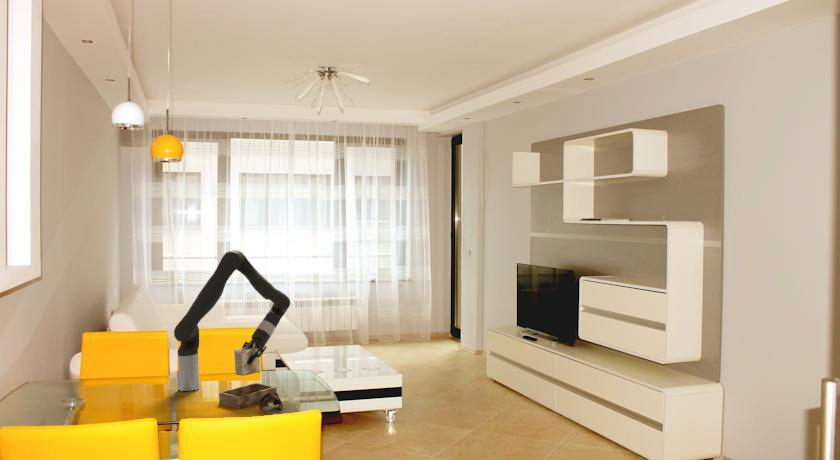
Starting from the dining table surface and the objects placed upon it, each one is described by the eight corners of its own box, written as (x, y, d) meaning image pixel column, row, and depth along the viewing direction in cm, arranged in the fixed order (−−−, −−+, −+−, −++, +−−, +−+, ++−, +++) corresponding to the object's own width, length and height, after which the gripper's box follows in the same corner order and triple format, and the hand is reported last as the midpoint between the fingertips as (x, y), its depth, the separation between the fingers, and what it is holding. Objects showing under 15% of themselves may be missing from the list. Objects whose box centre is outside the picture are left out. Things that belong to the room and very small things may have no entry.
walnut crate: (239, 408, 278) (239, 397, 278) (219, 403, 287) (218, 392, 287) (276, 397, 293) (276, 386, 293) (256, 393, 303) (256, 382, 303)
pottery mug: (282, 413, 271) (271, 398, 269) (263, 423, 272) (252, 407, 270) (288, 398, 282) (278, 383, 280) (270, 407, 284) (260, 393, 282)
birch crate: (243, 375, 289) (242, 351, 289) (235, 374, 293) (234, 350, 293) (259, 371, 296) (258, 347, 296) (251, 370, 300) (250, 346, 300)
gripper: (249, 326, 304) (229, 356, 295) (268, 328, 296) (248, 360, 286) (258, 336, 309) (239, 366, 300) (278, 338, 300) (259, 369, 291)
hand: (243, 362), depth 293 cm, fingers closed on birch crate, 6 cm apart
